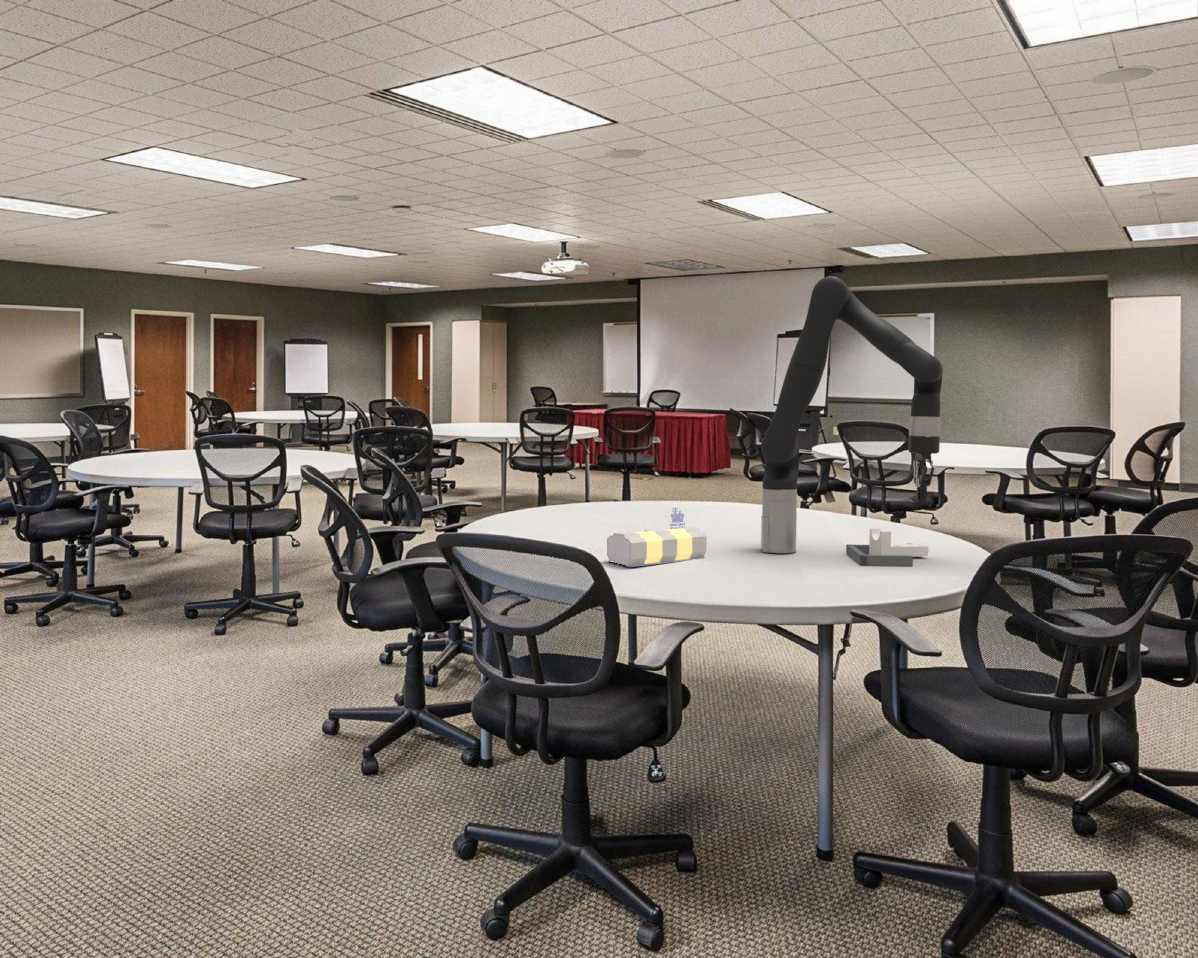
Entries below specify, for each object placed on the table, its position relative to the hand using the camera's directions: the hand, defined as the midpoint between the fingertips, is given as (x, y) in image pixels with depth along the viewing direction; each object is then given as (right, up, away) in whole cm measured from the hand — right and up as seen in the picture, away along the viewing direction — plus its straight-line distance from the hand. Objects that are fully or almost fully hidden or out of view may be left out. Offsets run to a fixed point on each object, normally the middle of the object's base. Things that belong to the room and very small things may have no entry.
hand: (921, 501), depth 233 cm
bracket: (-4, -15, +7) cm, 17 cm away
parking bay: (-10, -15, +2) cm, 18 cm away
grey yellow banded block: (-68, -16, +3) cm, 70 cm away
